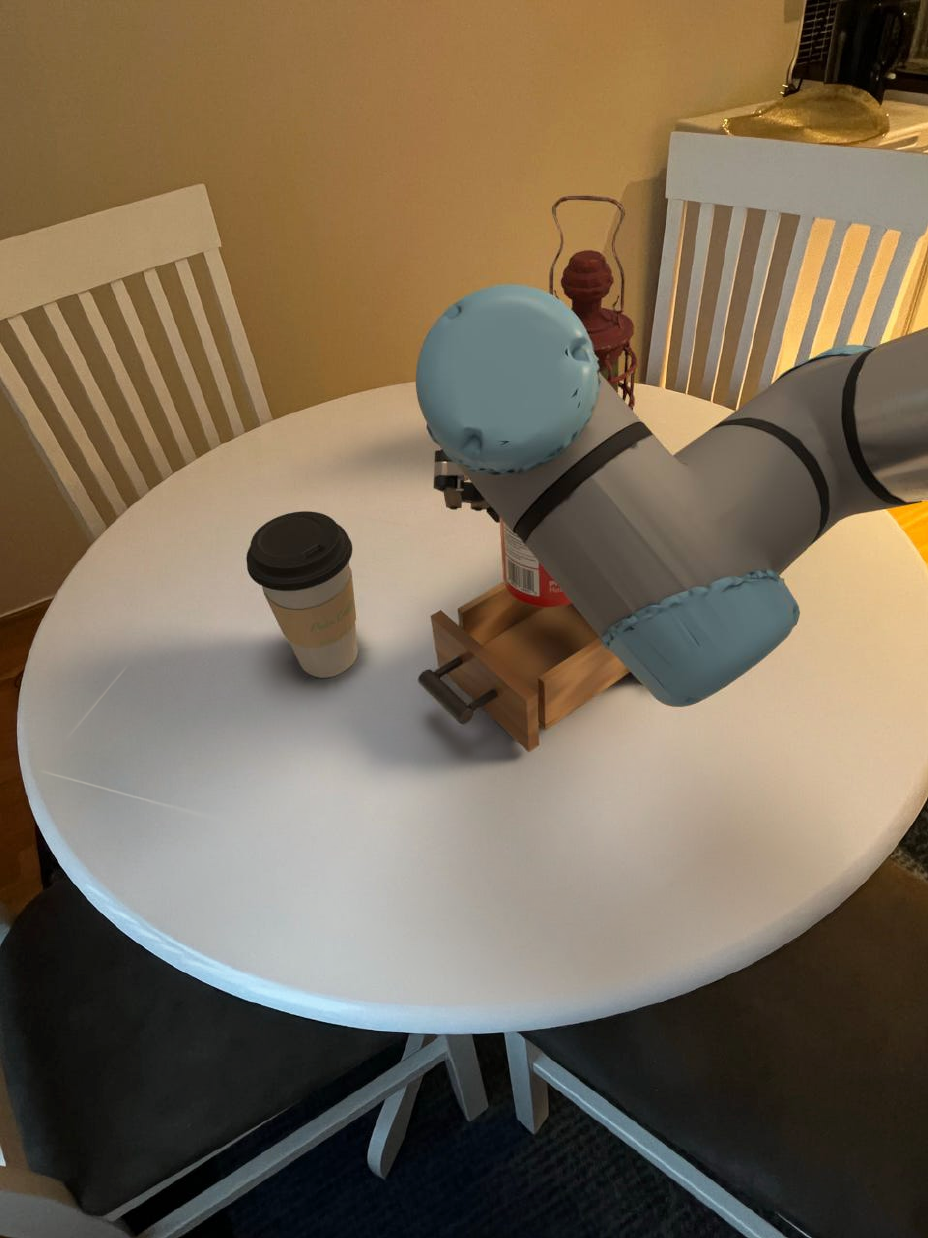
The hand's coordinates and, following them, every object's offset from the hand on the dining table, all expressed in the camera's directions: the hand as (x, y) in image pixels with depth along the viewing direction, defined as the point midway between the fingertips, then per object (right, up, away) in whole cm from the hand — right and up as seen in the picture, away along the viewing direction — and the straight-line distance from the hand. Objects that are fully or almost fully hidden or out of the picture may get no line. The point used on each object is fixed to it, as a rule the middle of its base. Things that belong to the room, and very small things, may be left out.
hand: (549, 507), depth 70 cm
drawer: (-1, -15, +7) cm, 17 cm away
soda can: (0, -7, +2) cm, 7 cm away
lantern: (+8, +12, +36) cm, 39 cm away
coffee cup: (-21, -13, +13) cm, 28 cm away
